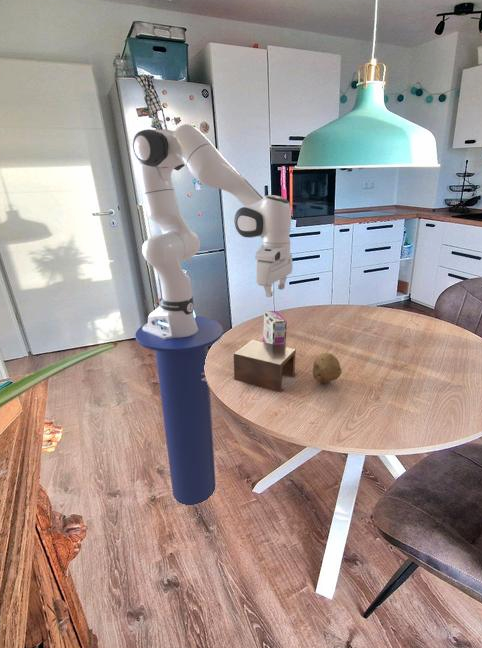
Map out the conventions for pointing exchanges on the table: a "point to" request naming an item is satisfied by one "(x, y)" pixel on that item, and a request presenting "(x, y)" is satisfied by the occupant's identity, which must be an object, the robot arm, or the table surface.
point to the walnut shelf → (264, 364)
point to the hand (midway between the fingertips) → (275, 292)
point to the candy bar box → (274, 328)
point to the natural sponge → (326, 368)
